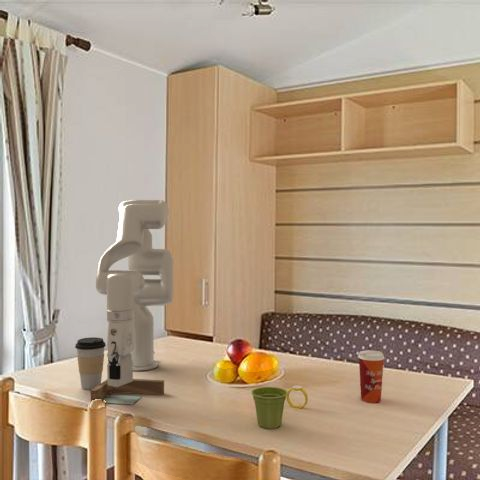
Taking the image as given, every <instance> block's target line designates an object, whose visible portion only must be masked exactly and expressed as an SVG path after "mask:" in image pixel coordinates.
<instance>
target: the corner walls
mask: <svg viewBox="0 0 480 480" xmlns="http://www.w3.org/2000/svg"><path fill="white" fill-rule="evenodd" d="M113 391H115V392H113ZM111 392H112V393H121V392H131V393H130V394H138V393H143V394H144V395H156V394H159V396H163V395H164V394H165V380H164V379H163V380H162V379H147V378H145V379H143V378H133V382H130V383H127V384H124V385H121V386H119V387H114V386H109V385H108V384H107V379H106V380H104V381H103V382H101V384H100V385H98V386H97V387H95V388H94V389H91V390H90V402H91V401H92V400H95V399H103V400H105V401H106V403H107V404H108V403H115V404H114V405H123V404H130V405H129V406H134V403H135V402H136V401H137V402H138V401H139V400H140V399H142V396H141V395H139V396H137V395H121V394H112V393H111ZM110 393H111V394H110ZM109 394H110V395H109ZM143 394H142V395H143ZM107 395H108V396H107ZM106 396H107V397H106ZM105 397H106V398H105ZM137 402H136V403H137ZM106 403H105V404H106ZM136 403H135V404H136ZM108 405H109V404H108Z"/></svg>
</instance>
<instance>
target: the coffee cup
mask: <svg viewBox="0 0 480 480" xmlns="http://www.w3.org/2000/svg"><path fill="white" fill-rule="evenodd" d="M106 346H107V345H106V342H105V341H104V339H103V338H102V337H94V336H93V337H91V336H90V337H84V338H80V339H77V342H76V343H75V346H74V348H75V349H76V350H77V351H76V352H77V356H76V357H77V358H76V359H77V365H78V372H79V378H80V385H81V389H83V390H90V389H91V390H92V389H94V388H95V387H97V386H98V385H100V384H101V383H102V378H103V372H104V371H103V370H104V360H105V359H104V358H105V347H106ZM91 390H90V391H91Z"/></svg>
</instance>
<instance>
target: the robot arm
mask: <svg viewBox="0 0 480 480" xmlns="http://www.w3.org/2000/svg"><path fill="white" fill-rule="evenodd" d="M169 212H170V210H169V206H168V204H167V202H166V200H164V199H163V200H162V199H130V200H129V199H128V200H124V201H122V202H120V204H119V206H118V213H119V221H118V227H117V228H118V229H117V235H116V241H115V242H114V243H113V244H112V245H111V246H109V247H108V248H107V249H106V251H104V253H103V254H102V255H101V257H100V259H99V261H98V264H97V265H98V266H97V271H96V276H95V288H96V291H97V292H98V294H100V295H102V296H106V322H108V326H107V327H108V328H107V345H106V346H107V347H106V349H107V354H106V357H107V363H108V362H109V378H110V379H115V380H119V379H120V378H121V366H120V365H119V363H120V358H121V356H122V357H124V356H126V355H128V354H129V353H130V356H131V358H132V361H133V372H134V371H136V372H137V371H138V372H139V371H150V370H153V369H155V368H157V367H158V366H159V361H157V360H155V358H154V357H155V351H154V348H155V347H154V343H155V342H154V334H155V333H154V316H153V314H152V312H151V311H150V310H149V308H148V307H150V306H151V307H153V306H155V307H156V306H157V307H159V306H160V307H161V306H169V305H170V304H171V303H172V302H173V299H174V259H173V254H172V252H171V251H170V250H168V249H167V248H166V249H165V248H153V234H152V232H151V231H150V230H161V229H162V228H163V227H164V226H165V225H166V223H167V221H168V218H169ZM126 258H128V259H127V260H128V270H115V269H113V270H110V268H111V267H112V266H113V265H114V264H115V263H117V262H119V261H121V260H123V259H126ZM145 276H159V278H152V279H151V278H144V277H145ZM114 353H118V355H117V354H114ZM115 358H117V361H116V359H115Z"/></svg>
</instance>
